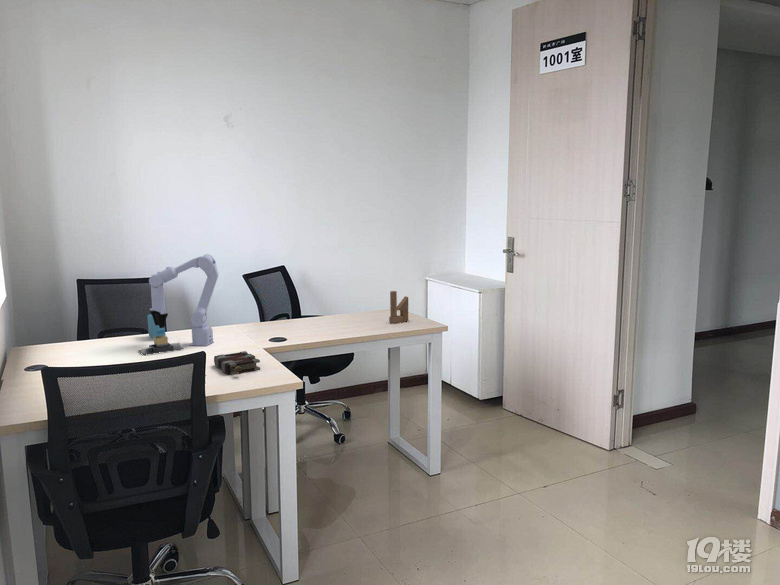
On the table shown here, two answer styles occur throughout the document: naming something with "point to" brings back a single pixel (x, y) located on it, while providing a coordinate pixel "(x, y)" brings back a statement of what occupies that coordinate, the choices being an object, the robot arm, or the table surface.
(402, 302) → the brown wooden bracket
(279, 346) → the table surface
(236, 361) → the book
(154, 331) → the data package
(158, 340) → the coupler
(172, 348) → the shaft rig
